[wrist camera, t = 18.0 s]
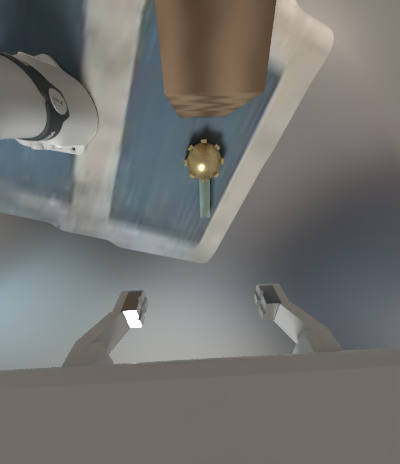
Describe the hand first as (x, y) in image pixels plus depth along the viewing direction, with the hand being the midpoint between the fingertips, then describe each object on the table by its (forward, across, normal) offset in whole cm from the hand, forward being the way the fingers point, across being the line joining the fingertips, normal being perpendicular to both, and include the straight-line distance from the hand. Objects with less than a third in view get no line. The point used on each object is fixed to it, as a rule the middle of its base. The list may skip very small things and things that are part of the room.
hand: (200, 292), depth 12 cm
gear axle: (+41, +3, -1) cm, 41 cm away
